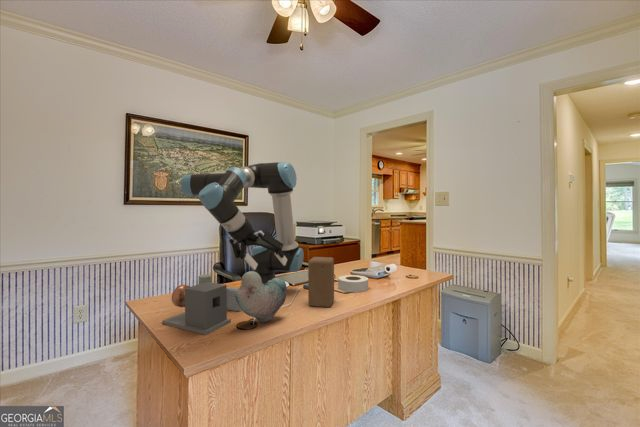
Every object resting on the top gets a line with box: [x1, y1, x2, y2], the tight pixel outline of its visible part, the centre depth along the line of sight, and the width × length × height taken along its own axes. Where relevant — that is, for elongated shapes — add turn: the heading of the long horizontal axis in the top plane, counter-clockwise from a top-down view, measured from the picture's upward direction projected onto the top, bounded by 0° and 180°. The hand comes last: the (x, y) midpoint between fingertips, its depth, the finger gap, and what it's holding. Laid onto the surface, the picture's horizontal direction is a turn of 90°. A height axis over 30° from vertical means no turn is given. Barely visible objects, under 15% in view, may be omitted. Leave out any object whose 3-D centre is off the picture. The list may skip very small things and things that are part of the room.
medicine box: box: [226, 286, 243, 312], centre depth 124 cm, size 8×4×9 cm, turn 71°
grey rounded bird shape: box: [235, 270, 287, 323], centre depth 110 cm, size 21×9×20 cm, turn 130°
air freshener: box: [198, 273, 213, 284], centre depth 143 cm, size 11×8×10 cm
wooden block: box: [307, 256, 335, 308], centre depth 131 cm, size 10×10×20 cm
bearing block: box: [161, 282, 232, 336], centre depth 110 cm, size 22×12×14 cm, turn 64°
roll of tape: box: [337, 274, 369, 293], centre depth 155 cm, size 16×16×6 cm
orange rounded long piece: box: [171, 284, 191, 308], centre depth 110 cm, size 14×8×8 cm, turn 64°
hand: (270, 264), depth 109 cm, fingers open, 13 cm apart
